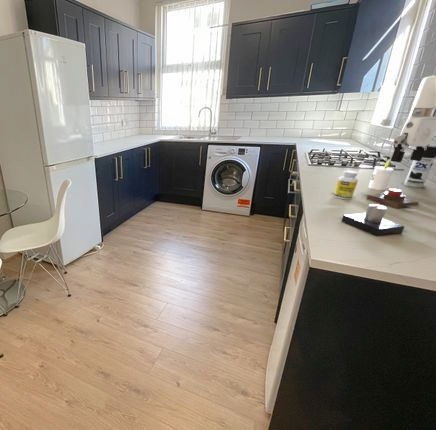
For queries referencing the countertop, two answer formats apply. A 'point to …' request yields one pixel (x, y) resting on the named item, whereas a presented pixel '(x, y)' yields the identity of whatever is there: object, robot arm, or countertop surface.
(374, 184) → the candle
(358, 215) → the panel
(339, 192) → the pill bottle
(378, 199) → the button housing
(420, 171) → the spray can
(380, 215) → the knob
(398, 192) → the button
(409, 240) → the countertop surface
